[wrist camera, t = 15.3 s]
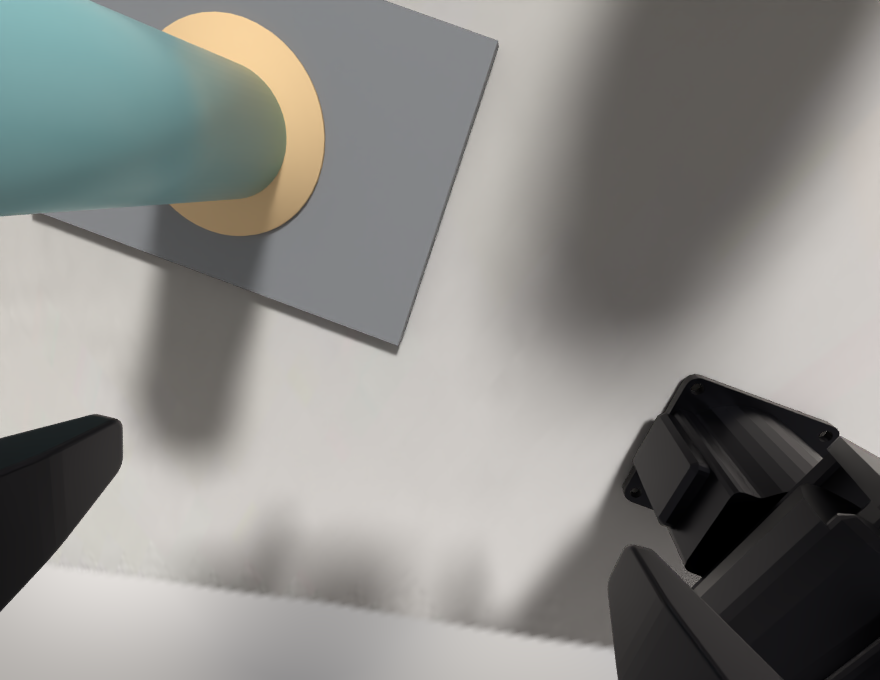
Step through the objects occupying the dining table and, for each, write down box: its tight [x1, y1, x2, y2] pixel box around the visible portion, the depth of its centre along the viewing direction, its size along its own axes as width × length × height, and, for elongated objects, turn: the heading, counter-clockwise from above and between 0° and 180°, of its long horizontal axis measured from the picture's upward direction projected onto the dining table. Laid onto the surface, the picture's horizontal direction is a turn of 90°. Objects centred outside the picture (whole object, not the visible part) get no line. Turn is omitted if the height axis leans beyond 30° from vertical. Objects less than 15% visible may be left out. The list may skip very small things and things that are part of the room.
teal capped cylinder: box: [0, 0, 286, 216], centre depth 12 cm, size 5×5×13 cm
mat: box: [42, 0, 499, 346], centre depth 19 cm, size 18×12×1 cm, turn 71°
